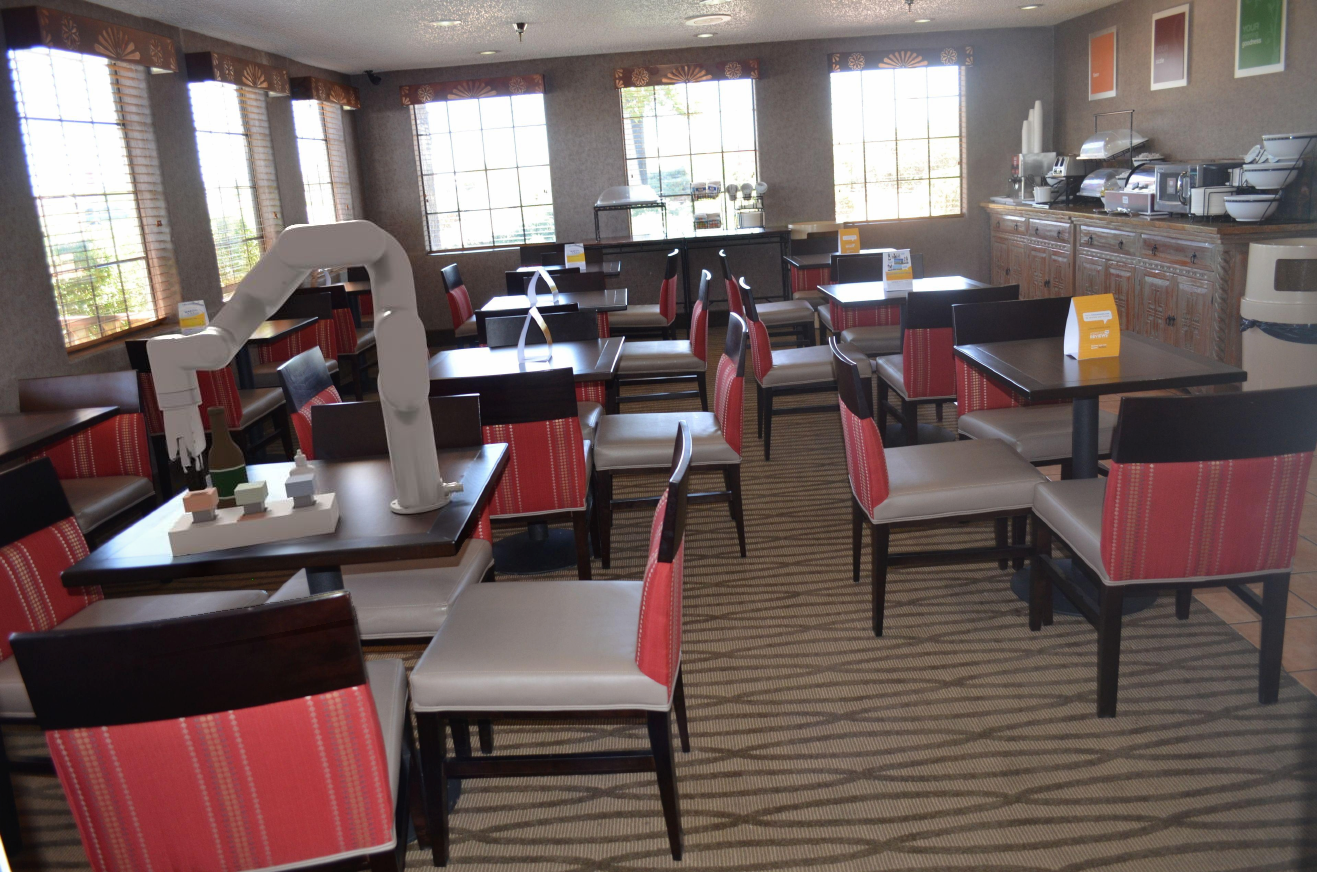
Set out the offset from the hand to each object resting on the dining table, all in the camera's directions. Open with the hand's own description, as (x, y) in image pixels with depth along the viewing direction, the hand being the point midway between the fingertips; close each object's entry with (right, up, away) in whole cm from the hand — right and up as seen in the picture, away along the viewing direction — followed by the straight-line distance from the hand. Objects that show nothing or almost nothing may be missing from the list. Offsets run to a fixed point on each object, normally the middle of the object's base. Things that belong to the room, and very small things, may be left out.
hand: (198, 489), depth 189 cm
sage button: (+10, -7, +4) cm, 13 cm away
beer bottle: (-2, -7, +22) cm, 23 cm away
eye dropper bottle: (+12, -4, +26) cm, 29 cm away
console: (+10, -9, +5) cm, 15 cm away
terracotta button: (+1, -8, +2) cm, 9 cm away
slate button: (+19, -6, +6) cm, 21 cm away
